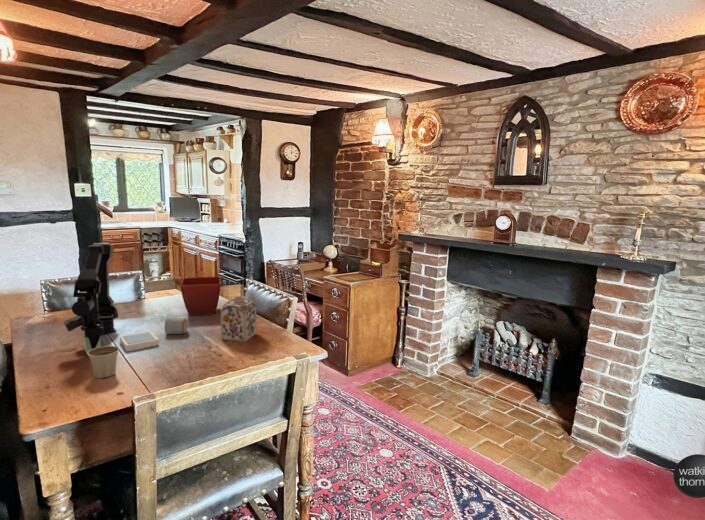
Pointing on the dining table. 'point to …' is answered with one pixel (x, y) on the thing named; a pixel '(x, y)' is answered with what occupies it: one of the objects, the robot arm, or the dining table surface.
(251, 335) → the decorative jar
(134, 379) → the dining table surface
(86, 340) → the cube
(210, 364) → the dining table surface
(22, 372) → the dining table surface
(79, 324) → the robot arm
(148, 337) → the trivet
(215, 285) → the plant pot
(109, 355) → the flower pot
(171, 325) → the ceramic mug
